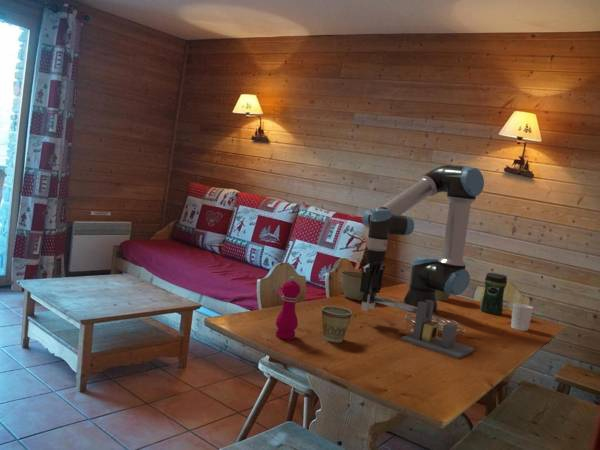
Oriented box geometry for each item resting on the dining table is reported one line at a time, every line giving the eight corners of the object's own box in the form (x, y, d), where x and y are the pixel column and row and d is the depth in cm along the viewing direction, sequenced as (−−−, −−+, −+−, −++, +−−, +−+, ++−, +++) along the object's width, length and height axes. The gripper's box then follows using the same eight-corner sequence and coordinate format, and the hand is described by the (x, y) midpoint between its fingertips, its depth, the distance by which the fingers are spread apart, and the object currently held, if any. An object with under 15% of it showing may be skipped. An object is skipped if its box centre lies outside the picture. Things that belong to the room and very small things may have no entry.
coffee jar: (503, 313, 250) (509, 275, 248) (499, 316, 243) (506, 276, 241) (482, 308, 255) (488, 270, 253) (478, 311, 248) (484, 272, 246)
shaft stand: (401, 339, 186) (406, 301, 185) (419, 333, 197) (424, 296, 195) (458, 358, 173) (465, 317, 172) (474, 351, 184) (480, 311, 182)
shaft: (363, 301, 202) (364, 291, 201) (368, 300, 205) (369, 290, 204) (416, 317, 188) (418, 306, 187) (421, 316, 191) (423, 305, 190)
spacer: (421, 340, 185) (423, 323, 185) (428, 337, 190) (431, 321, 190) (429, 342, 184) (431, 325, 183) (436, 339, 188) (439, 323, 188)
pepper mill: (273, 331, 177) (281, 273, 175) (295, 333, 177) (302, 275, 175) (274, 338, 169) (282, 277, 167) (296, 340, 170) (304, 280, 168)
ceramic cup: (327, 345, 170) (331, 314, 169) (312, 334, 179) (316, 306, 178) (361, 343, 176) (365, 314, 175) (345, 333, 185) (349, 305, 184)
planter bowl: (364, 304, 232) (368, 280, 231) (331, 296, 240) (335, 273, 239) (378, 299, 246) (381, 276, 245) (346, 291, 254) (349, 269, 253)
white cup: (531, 332, 220) (535, 309, 219) (511, 329, 221) (515, 306, 220) (526, 327, 228) (530, 305, 227) (507, 324, 229) (511, 302, 228)
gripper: (373, 252, 191) (364, 315, 194) (395, 250, 205) (387, 309, 207) (355, 248, 196) (347, 309, 198) (379, 246, 209) (371, 304, 212)
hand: (367, 309), depth 203 cm, fingers closed on shaft, 4 cm apart
